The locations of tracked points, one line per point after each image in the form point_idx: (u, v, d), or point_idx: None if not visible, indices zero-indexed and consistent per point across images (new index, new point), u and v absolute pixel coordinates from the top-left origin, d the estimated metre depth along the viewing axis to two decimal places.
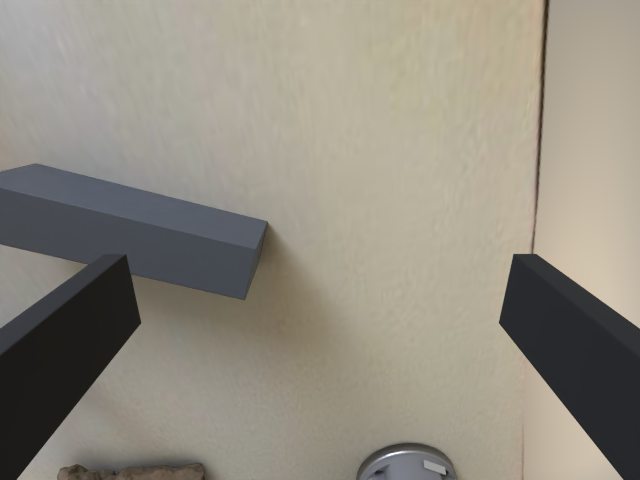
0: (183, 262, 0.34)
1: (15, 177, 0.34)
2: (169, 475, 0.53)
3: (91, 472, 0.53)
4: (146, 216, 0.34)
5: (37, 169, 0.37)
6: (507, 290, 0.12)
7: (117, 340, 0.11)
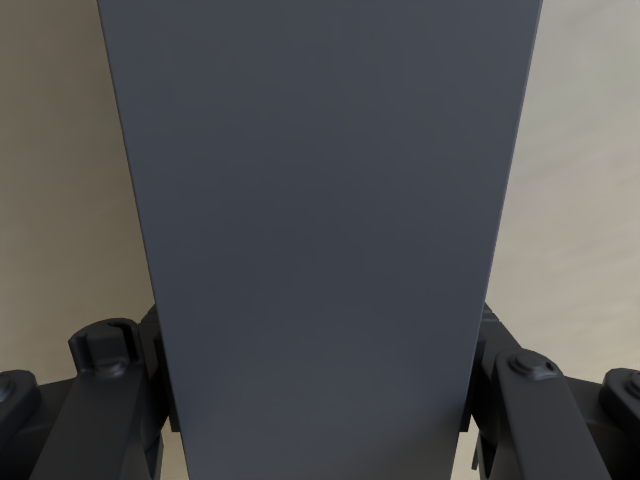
0: (301, 310, 0.06)
1: None
2: None
3: None
4: None
5: None
6: None
7: None
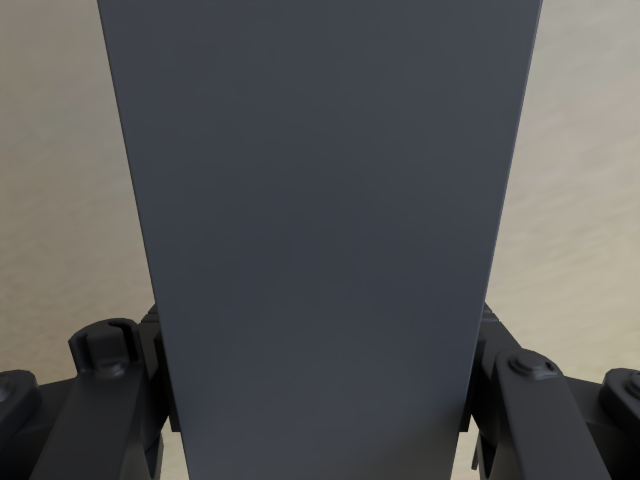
0: (301, 310, 0.06)
1: None
2: None
3: None
4: None
5: None
6: None
7: None
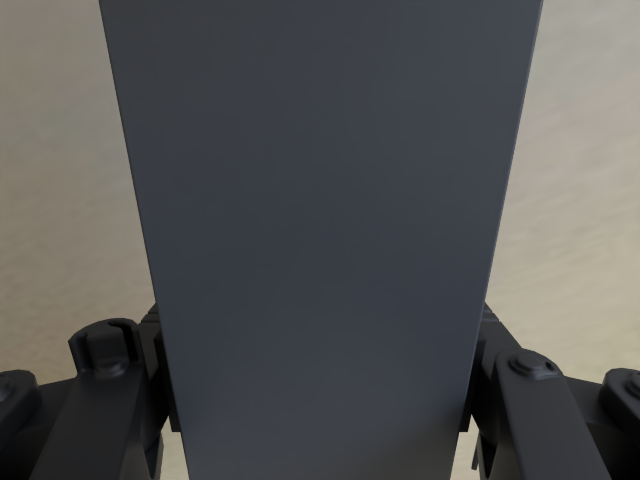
0: (302, 309, 0.06)
1: None
2: None
3: None
4: None
5: None
6: None
7: None
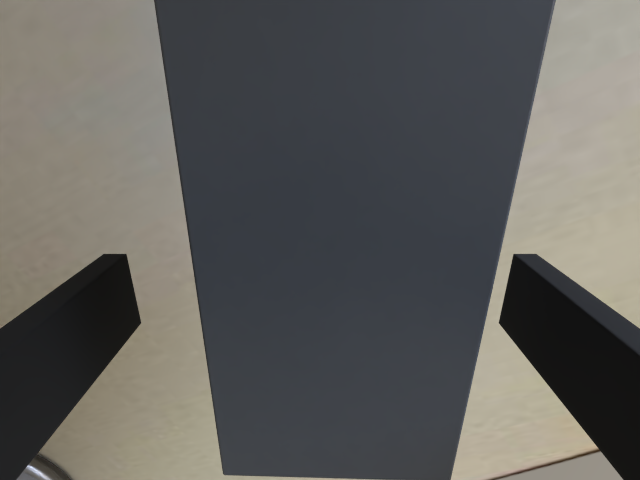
0: (326, 243, 0.07)
1: None
2: None
3: None
4: None
5: None
6: (507, 290, 0.12)
7: (117, 340, 0.11)
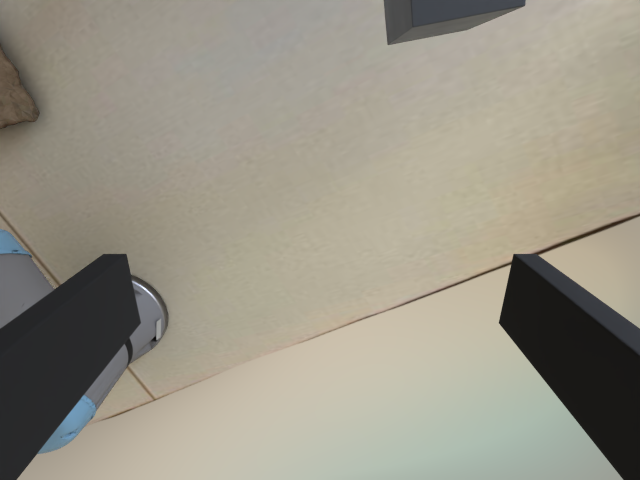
0: None
1: None
2: (12, 81, 0.45)
3: None
4: None
5: None
6: (507, 290, 0.12)
7: (117, 340, 0.11)
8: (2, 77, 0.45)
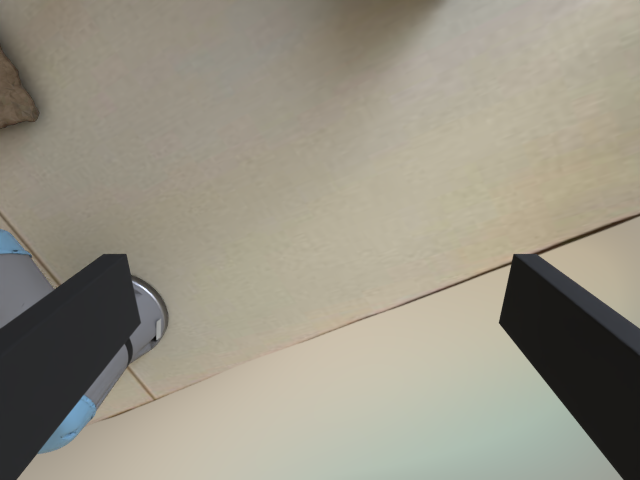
0: None
1: None
2: (12, 81, 0.45)
3: None
4: None
5: None
6: (507, 290, 0.12)
7: (117, 340, 0.11)
8: (2, 77, 0.45)
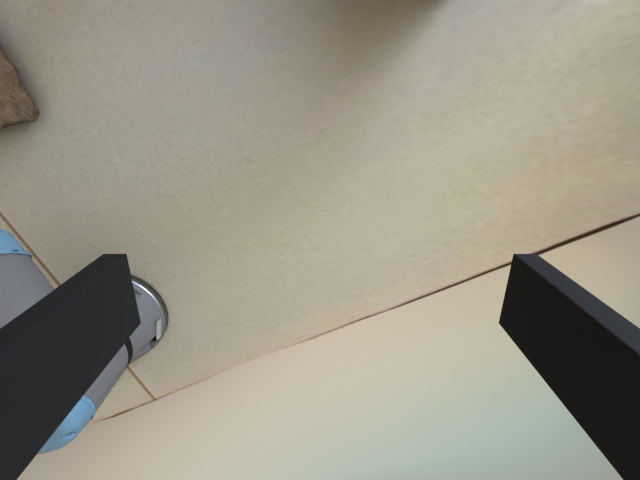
0: None
1: None
2: (12, 81, 0.45)
3: None
4: None
5: None
6: (507, 290, 0.12)
7: (117, 340, 0.11)
8: (2, 77, 0.45)
